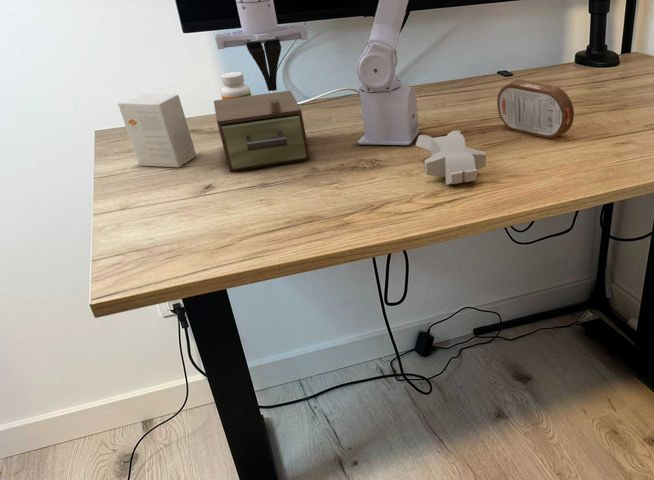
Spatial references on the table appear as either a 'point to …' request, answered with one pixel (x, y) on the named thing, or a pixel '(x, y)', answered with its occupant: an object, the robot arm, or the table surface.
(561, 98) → the tin
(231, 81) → the supplement bottle
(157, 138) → the small box
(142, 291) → the table surface
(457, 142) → the grey branched angular piece
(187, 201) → the table surface
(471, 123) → the table surface
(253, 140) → the drawer
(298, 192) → the table surface
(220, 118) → the cabinet
